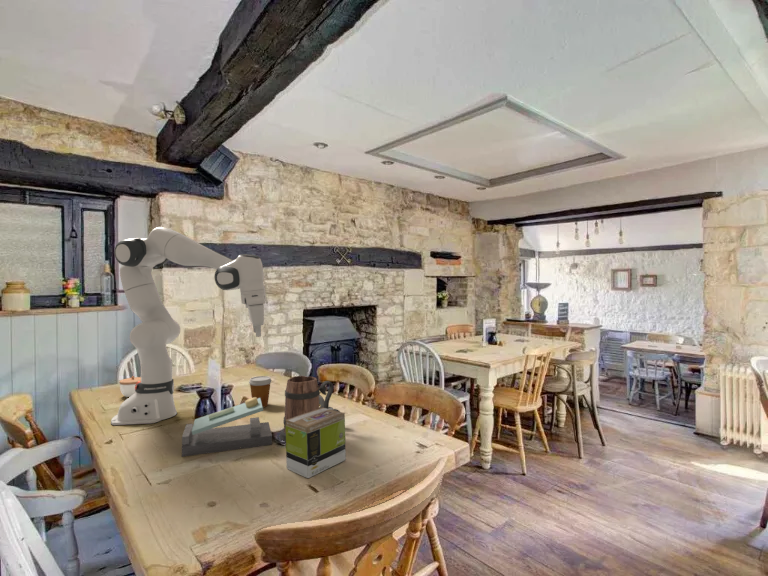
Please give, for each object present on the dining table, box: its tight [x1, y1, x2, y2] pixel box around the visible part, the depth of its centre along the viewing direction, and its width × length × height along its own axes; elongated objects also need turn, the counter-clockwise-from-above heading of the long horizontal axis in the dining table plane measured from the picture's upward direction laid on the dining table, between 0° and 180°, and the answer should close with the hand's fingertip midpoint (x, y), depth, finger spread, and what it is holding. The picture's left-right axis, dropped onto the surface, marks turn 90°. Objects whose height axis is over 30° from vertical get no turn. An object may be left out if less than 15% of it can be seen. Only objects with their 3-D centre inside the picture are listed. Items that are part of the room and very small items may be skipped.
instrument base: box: [181, 417, 273, 457], centre depth 135 cm, size 27×14×6 cm, turn 110°
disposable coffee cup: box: [248, 375, 272, 408], centre depth 176 cm, size 10×10×12 cm
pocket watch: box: [319, 391, 334, 410], centre depth 168 cm, size 8×8×10 cm
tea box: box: [285, 407, 347, 479], centre depth 119 cm, size 15×10×15 cm, turn 141°
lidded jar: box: [118, 375, 141, 398], centre depth 191 cm, size 11×11×9 cm
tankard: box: [278, 375, 341, 442], centre depth 144 cm, size 24×17×20 cm
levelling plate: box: [192, 397, 264, 435], centre depth 135 cm, size 22×12×3 cm, turn 110°
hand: (257, 334), depth 151 cm, fingers open, 8 cm apart
